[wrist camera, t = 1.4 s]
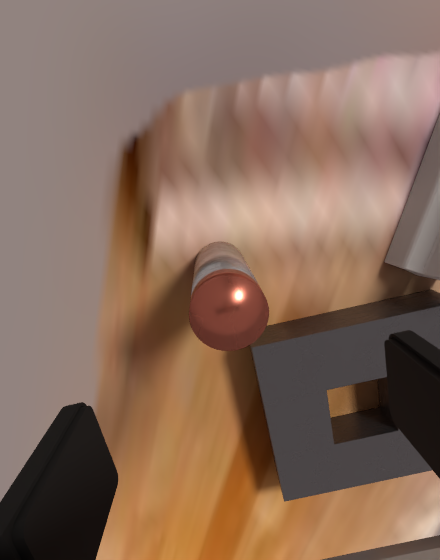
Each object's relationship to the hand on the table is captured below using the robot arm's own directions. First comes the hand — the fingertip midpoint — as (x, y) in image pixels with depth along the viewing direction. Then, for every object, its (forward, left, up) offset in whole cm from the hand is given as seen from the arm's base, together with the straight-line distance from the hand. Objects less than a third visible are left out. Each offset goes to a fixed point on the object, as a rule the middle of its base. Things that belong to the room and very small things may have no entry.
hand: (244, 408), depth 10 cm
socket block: (+14, +9, -16) cm, 23 cm away
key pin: (0, 0, -16) cm, 16 cm away
